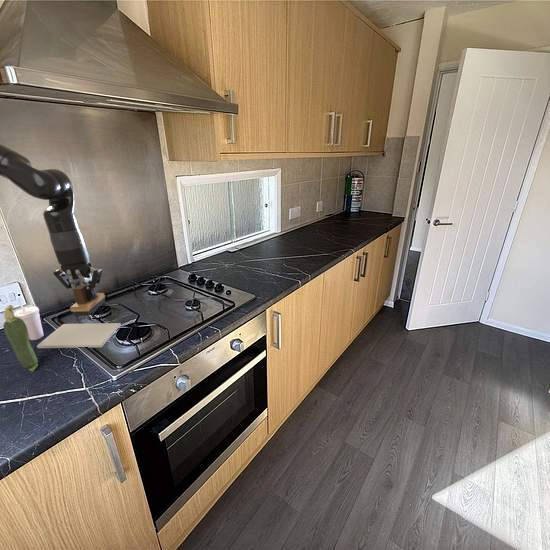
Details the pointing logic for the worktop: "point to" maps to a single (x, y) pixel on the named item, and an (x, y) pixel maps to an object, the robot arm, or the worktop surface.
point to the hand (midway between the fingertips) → (87, 299)
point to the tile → (80, 335)
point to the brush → (85, 301)
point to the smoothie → (31, 320)
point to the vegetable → (19, 339)
